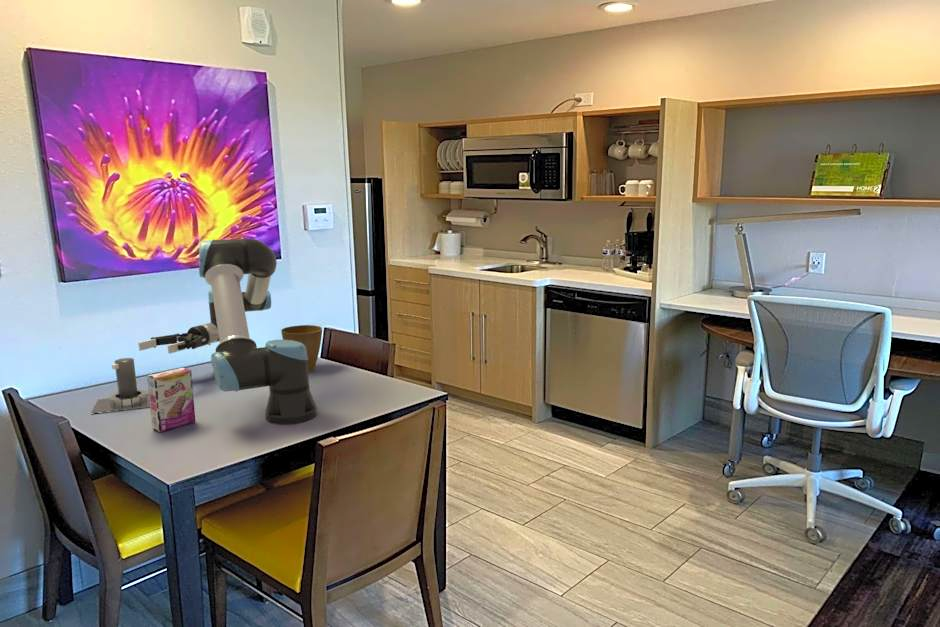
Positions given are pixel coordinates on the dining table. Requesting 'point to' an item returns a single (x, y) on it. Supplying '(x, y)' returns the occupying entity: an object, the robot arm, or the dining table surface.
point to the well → (122, 402)
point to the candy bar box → (171, 399)
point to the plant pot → (305, 340)
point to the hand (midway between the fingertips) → (153, 348)
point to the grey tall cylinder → (126, 377)
